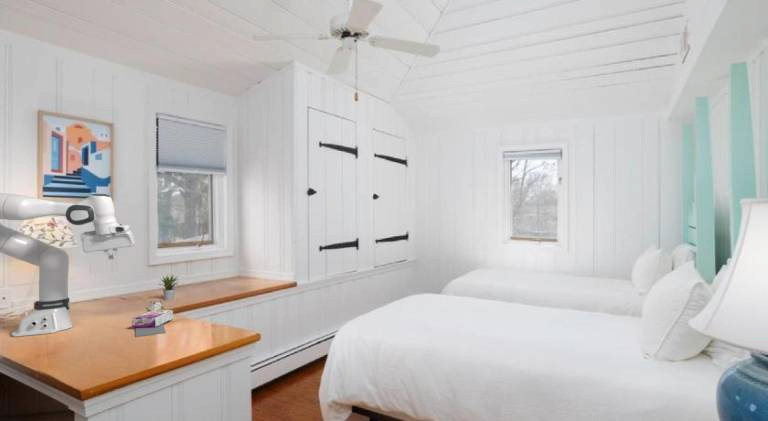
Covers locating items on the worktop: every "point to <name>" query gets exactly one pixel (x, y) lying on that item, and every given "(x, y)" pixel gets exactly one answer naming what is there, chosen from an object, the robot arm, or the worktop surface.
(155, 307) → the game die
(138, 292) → the worktop surface
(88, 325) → the worktop surface
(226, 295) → the worktop surface
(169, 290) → the house plant
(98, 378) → the worktop surface
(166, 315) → the candy bar box
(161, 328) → the mat
